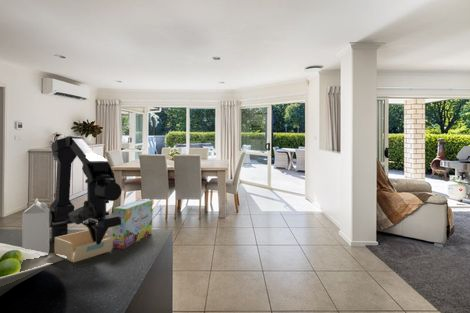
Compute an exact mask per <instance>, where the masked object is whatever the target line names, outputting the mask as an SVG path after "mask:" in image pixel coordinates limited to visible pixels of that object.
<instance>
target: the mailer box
mask: <svg viewBox="0 0 470 313" xmlns="http://www.w3.org/2000/svg"><path fill="white" fill-rule="evenodd" d="M106 238H109V234H107V233H105V235H104V237H103V239H106ZM103 239H102V240H103ZM91 242H93V240H92V237H91V234H90V232H89V229H85V230H80V231H78V232H73V233H68V235H63V236H59V237H55V243H54V255H55V254H60V255H65V256H67V260H66V261H68V262H71V263H74V262H73V258H74V254H75V251H76V247H77V246H80V245H84V244H88V243H91Z"/></svg>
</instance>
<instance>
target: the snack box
mask: <svg viewBox="0 0 470 313" xmlns="http://www.w3.org/2000/svg"><path fill="white" fill-rule="evenodd" d="M112 215H115V216H119V217H120V218H121V225H118V226H114V227H112V237H114V239H113V242H112V246H111V248H115V249H122V250H125V249H126V248H129V247H130V246H131V245H133V243H134V244H135V243H137V242H139V241H141V240H142V239H141V238H143V237H144V238H146V237H147V236H146V235H148V234H149V233H151V232H152V226H153V224H152V223H153V199H146V198H145V199H144V198H142V199H138V200H135V201H132V202H129V203H124V204H122V205H119V206H116V207H114V208H113V214H112ZM151 234H152V233H151ZM145 236H146V237H145ZM148 236H149V235H148ZM144 238H143V239H144ZM140 239H141V240H140ZM138 240H139V241H138Z"/></svg>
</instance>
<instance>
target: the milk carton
mask: <svg viewBox="0 0 470 313" xmlns="http://www.w3.org/2000/svg"><path fill="white" fill-rule="evenodd" d="M49 211H50V207H49V204H47V203H46V202H43V201H42V202H40V201H39V198H38V197H37V198H36V199H35V200H34V203H33V204H31V205H30V206H29V207H28V208H26V209H25V210H24V211H23V213H22V215H21V216H22V217H21V220H22V224H21V225H22V226H21V228H22V229H21V230H22V232H21V233H22V235H21V236H22V238H21V240H22V245H21V246H22V247H21V248H25V249H31V250H36V251H41V252H47V253H48V254H49V253H50V241H49V238H50V227H49Z"/></svg>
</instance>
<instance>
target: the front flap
mask: <svg viewBox="0 0 470 313" xmlns="http://www.w3.org/2000/svg"><path fill="white" fill-rule="evenodd" d="M113 239H114V237H113V236H110V237H108V238H106V239H103V240H102V241H101V243H100V244H98V245H97V244H96V241H95V242H91V243H88V244H84V245H80V246H77V247H76V251H75V254H74V258H73V262H72V263H76V262H79V261H83V260H85V259H90V258H93V257H96V256H99V255H102V254H106V253H109V252H110V251H111V249H112V246H113Z"/></svg>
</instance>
